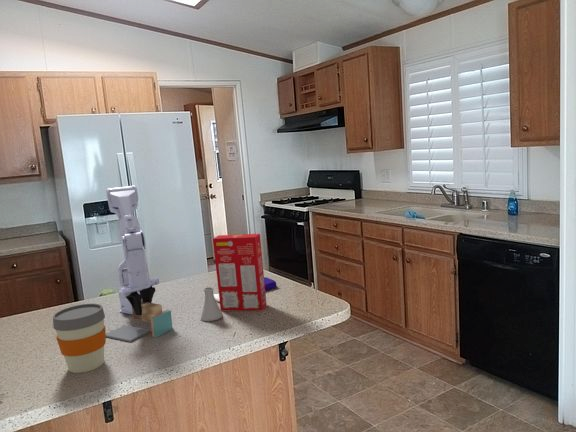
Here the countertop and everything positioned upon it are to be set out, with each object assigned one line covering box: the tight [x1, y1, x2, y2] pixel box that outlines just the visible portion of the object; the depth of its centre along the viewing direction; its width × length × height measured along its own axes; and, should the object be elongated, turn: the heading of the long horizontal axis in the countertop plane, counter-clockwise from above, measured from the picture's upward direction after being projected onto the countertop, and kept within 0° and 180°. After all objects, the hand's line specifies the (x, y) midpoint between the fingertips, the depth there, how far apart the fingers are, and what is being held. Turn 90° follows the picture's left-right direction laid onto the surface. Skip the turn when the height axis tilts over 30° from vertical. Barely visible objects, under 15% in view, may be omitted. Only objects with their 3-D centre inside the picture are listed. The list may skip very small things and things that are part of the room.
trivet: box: [106, 324, 152, 343], centre depth 144 cm, size 12×8×1 cm, turn 60°
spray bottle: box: [213, 276, 277, 303], centre depth 176 cm, size 3×11×24 cm
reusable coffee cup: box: [52, 303, 107, 374], centre depth 124 cm, size 13×13×15 cm
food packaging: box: [212, 233, 267, 312], centre depth 158 cm, size 15×5×25 cm, turn 78°
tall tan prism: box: [132, 301, 163, 324], centre depth 146 cm, size 10×3×5 cm, turn 60°
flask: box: [200, 286, 223, 322], centre depth 152 cm, size 7×7×10 cm
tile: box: [150, 309, 174, 338], centre depth 143 cm, size 2×7×6 cm, turn 150°
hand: (143, 312), depth 147 cm, fingers closed on tall tan prism, 3 cm apart
